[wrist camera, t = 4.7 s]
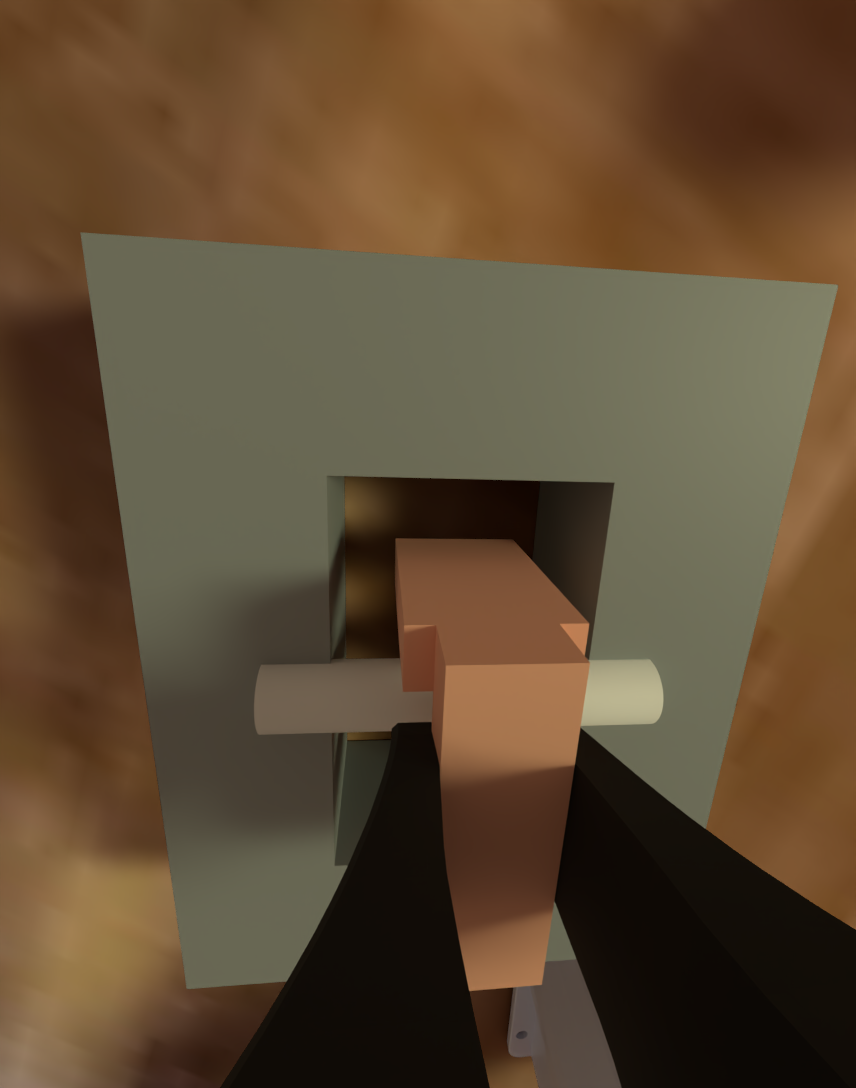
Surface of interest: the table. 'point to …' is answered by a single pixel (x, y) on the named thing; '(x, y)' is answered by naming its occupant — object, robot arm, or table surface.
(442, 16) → the table surface
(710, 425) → the grey panel with window
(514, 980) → the orange arch block
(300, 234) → the table surface
